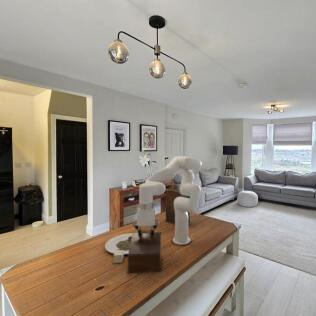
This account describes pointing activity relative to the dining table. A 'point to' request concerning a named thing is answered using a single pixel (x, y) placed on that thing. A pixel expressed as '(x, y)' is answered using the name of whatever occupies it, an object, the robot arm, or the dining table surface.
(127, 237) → the plated food
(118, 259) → the block
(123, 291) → the dining table surface
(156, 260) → the chest
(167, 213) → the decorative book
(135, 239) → the lid
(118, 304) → the dining table surface
